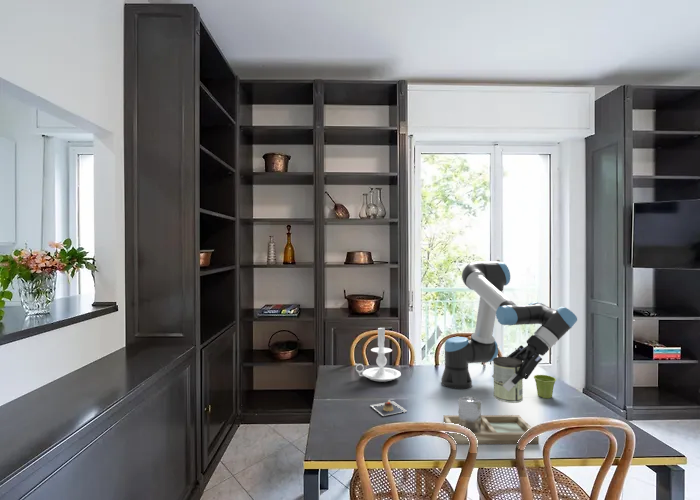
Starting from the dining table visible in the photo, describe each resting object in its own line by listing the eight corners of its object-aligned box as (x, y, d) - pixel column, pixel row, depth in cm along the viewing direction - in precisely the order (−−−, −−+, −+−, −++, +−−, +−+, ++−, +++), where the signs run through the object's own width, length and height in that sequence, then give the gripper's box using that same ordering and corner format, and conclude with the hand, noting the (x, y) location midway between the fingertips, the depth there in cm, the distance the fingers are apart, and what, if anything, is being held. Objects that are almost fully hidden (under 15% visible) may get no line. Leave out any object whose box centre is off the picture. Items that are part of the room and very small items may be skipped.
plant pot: (558, 400, 178) (558, 381, 178) (536, 399, 180) (536, 380, 180) (552, 393, 187) (552, 375, 187) (531, 392, 189) (531, 374, 189)
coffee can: (493, 391, 153) (492, 355, 153) (521, 394, 149) (521, 357, 149) (493, 401, 143) (493, 362, 143) (524, 404, 140) (524, 365, 140)
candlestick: (352, 373, 218) (352, 323, 218) (396, 372, 220) (396, 322, 220) (356, 386, 197) (356, 331, 197) (404, 385, 199) (404, 330, 199)
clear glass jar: (456, 424, 150) (456, 396, 150) (476, 424, 151) (476, 396, 151) (462, 434, 142) (462, 404, 142) (483, 434, 143) (483, 404, 143)
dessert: (382, 418, 161) (382, 406, 161) (369, 407, 172) (369, 396, 172) (407, 413, 166) (407, 402, 166) (393, 403, 177) (393, 392, 177)
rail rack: (443, 424, 154) (443, 415, 154) (518, 423, 155) (518, 415, 155) (454, 444, 138) (454, 434, 138) (538, 444, 139) (538, 434, 139)
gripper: (565, 356, 135) (520, 402, 135) (534, 341, 158) (495, 380, 158) (549, 341, 135) (504, 387, 135) (520, 328, 158) (482, 367, 158)
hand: (499, 383), depth 146 cm, fingers closed on coffee can, 10 cm apart
